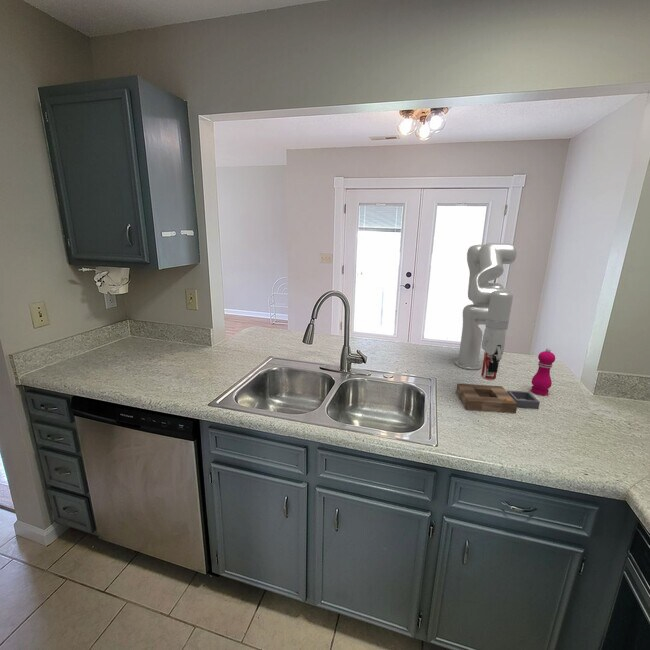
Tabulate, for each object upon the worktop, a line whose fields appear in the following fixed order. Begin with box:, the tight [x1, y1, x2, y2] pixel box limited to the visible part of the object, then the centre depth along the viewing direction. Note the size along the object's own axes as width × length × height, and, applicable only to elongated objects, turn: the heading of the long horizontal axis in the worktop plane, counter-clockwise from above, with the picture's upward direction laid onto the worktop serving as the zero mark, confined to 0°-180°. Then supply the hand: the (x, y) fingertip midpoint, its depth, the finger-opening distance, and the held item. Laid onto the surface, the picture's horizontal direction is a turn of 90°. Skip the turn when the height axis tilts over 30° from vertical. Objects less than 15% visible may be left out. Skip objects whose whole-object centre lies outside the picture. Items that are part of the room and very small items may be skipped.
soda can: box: [480, 351, 498, 381], centre depth 131 cm, size 5×5×12 cm
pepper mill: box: [530, 348, 556, 396], centre depth 142 cm, size 7×7×20 cm
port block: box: [455, 382, 518, 414], centre depth 135 cm, size 15×18×4 cm
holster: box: [506, 390, 541, 410], centre depth 135 cm, size 9×9×3 cm
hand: (489, 368), depth 132 cm, fingers closed on soda can, 5 cm apart
